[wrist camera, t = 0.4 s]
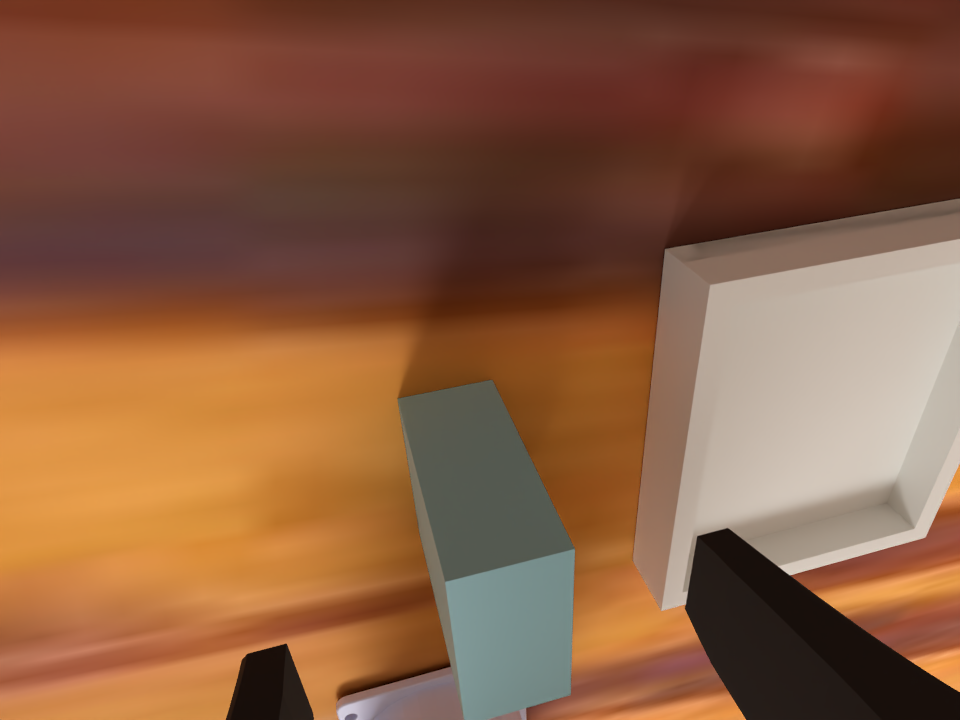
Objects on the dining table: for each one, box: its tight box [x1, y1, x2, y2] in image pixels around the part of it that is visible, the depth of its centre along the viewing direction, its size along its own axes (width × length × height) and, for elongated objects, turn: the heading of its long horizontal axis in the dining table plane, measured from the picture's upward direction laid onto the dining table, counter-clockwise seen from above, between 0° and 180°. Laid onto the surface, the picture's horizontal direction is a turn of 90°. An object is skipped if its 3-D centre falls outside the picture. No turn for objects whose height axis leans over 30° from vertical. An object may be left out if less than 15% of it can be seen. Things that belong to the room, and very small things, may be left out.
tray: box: [633, 199, 960, 611], centre depth 23 cm, size 14×12×2 cm
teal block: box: [398, 380, 575, 720], centre depth 19 cm, size 6×3×7 cm, turn 4°
